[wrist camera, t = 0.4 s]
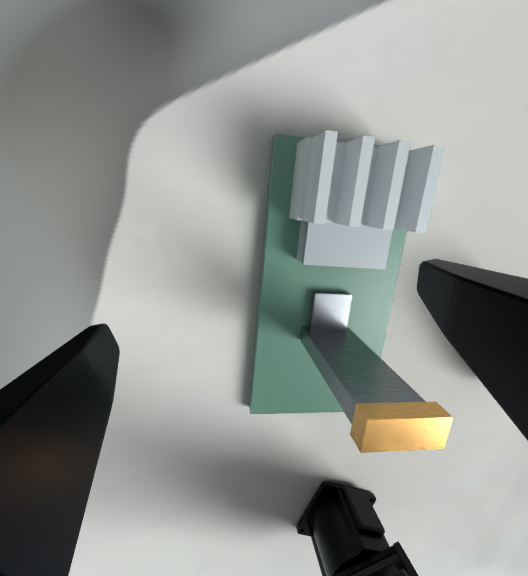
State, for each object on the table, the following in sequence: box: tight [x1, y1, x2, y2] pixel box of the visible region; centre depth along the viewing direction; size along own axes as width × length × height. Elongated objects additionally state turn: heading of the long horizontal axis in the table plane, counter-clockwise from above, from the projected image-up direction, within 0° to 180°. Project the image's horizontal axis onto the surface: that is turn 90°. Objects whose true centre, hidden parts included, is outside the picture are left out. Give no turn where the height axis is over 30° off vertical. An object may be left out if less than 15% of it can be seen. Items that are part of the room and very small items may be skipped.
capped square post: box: [300, 291, 453, 453], centre depth 20 cm, size 4×4×12 cm
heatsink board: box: [249, 130, 445, 414], centre depth 23 cm, size 22×11×6 cm, turn 175°
